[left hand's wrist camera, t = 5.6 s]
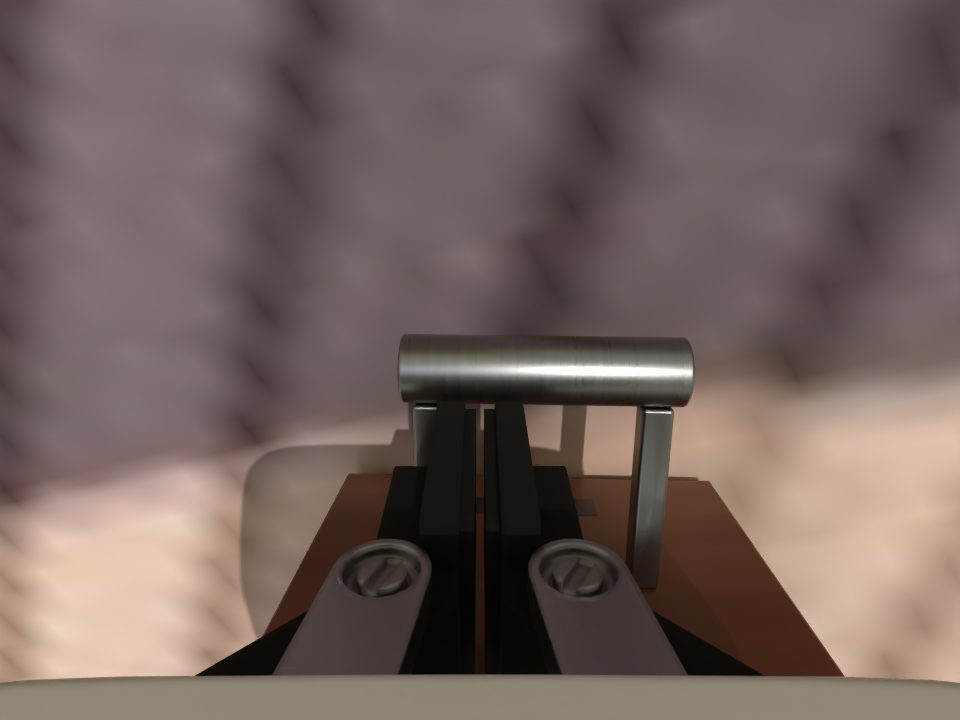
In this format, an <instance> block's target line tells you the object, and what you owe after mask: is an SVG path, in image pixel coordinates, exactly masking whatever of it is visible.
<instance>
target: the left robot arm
mask: <svg viewBox="0 0 960 720" xmlns="http://www.w3.org/2000/svg"><path fill="white" fill-rule="evenodd" d="M484 600H485V675H475V615H476V409H465V402H437V408H436V415H435V421H434V428H433V434H432V441H431V447H430V454H429V460H428V466H396V467H395V468H394V471H393V475H392V479H391V483H390V487H389V491H388V495H387V499H386V503H385V507H384V511H383V515H382V519H381V523H380V527H379V531H378V535H377V539H376V540H373V541H368V542H365V543H362V544H360V545H357V546H355V547H352V548H351V549H350V550H348V551H347V552H345V553H344V554H342V555H341V556H340V558H339V559H338V560H337V561H336V563H335V564H334V565H333V567H332V569H331V571H330V572H329V574H328V576H327V578H326V580H325V581H324V583H323V585H322V587H321V589H320V590H319V592H318V594H317V596H316V598H315V599H314V601H313V603H312V605H311V606H310V608H309V610H308V611H306V612H304V613H303V614H301V615H299V616H297V617H296V618H294V619H292V620H290V621H289V622H287V623H285V624H284V625H282V626H280V627H278V628H277V629H275V630H273V631H271V632H270V633H268V634H266V635H264V636H263V637H261V638H259V639H258V640H256V641H254V642H252V643H251V644H249V645H247V646H245V647H244V648H242V649H240V650H239V651H237V652H235V653H233V654H232V655H230V656H228V657H226V658H225V659H223V660H221V661H220V662H218V663H216V664H214V665H213V666H211V667H209V668H207V669H206V670H204V671H202V672H201V673H199V674H197V675H195V676H137V677H97V678H70V679H43V680H24V681H14V682H5V683H0V720H960V683H955V682H946V681H936V680H917V679H890V678H863V677H828V676H765V675H763V674H761V673H759V672H758V671H756V670H754V669H753V668H751V667H749V666H747V665H746V664H744V663H742V662H740V661H739V660H737V659H735V658H734V657H732V656H730V655H728V654H727V653H725V652H723V651H721V650H720V649H718V648H716V647H715V646H713V645H711V644H709V643H708V642H706V641H704V640H702V639H701V638H699V637H697V636H696V635H694V634H692V633H690V632H689V631H687V630H685V629H683V628H682V627H680V626H678V625H677V624H675V623H673V622H671V621H670V620H668V619H666V618H665V617H663V616H661V615H659V614H658V613H656V612H654V611H652V610H651V608H650V606H649V605H648V603H647V601H646V599H645V598H644V596H643V594H642V592H641V590H640V589H639V587H638V585H637V583H636V581H635V580H634V578H633V576H632V574H631V572H630V571H629V569H628V567H627V565H626V564H625V563H624V561H623V560H622V559H621V558H620V556H619V555H618V554H616V553H615V552H613V551H612V550H610V549H609V548H608V547H605V546H603V545H600V544H598V543H595V542H592V541H587V540H584V539H583V535H582V531H581V527H580V523H579V519H578V515H577V511H576V507H575V503H574V499H573V495H572V491H571V487H570V483H569V479H568V474H567V471H566V468H565V467H564V466H532V459H531V453H530V446H529V440H528V433H527V427H526V420H525V413H524V407H523V402H495V409H484Z"/></svg>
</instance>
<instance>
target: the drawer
mask: <svg viewBox="0 0 960 720" xmlns="http://www.w3.org/2000/svg"><path fill="white" fill-rule="evenodd" d="M694 378H695V365H694V356H693V352H692V348H691V345H690V343H689V341H688V340H687V339H685V338H661V337H585V336H509V335H434V334H405V335H403V336H402V339H401V342H400V346H399V354H398V388H399V395H400V398H401V400H402V402H406V403H414V405H413V408H412V414H413V453H414V466H428V460H429V454H430V447H431V441H432V434H433V428H434V421H435V415H436V408H437V402H465V403H466V404H495V402H523V404H526V405H585V406H637V415H636V428H635V441H634V454H633V467H632V480H631V479H582V478H568V479H569V483H570V487H571V491H572V495H573V499H574V503H575V507H576V511H577V515H578V519H579V523H580V527H581V531H582V535H583V539H584V540H587V541H592V542H595V543H598V544H600V545H603V546H605V547H608V548H609V549H610V550H612V551H613V552H615V553H616V554H618V555H619V556H620V558H621V559H622V560H623V561H624V563H625V564H626V565H627V567H628V569H629V571H630V572H631V574H632V576H633V578H634V580H635V581H636V583H637V585H638V587H639V589H640V590H641V592H642V594H643V596H644V598H645V599H646V601H647V603H648V605H649V606H650V608H651V610H652V611H654V612H656V613H658V614H659V615H661V616H663V617H665V618H666V619H668V620H670V621H671V622H673V623H675V624H677V625H678V626H680V627H682V628H683V629H685V630H687V631H689V632H690V633H692V634H694V635H696V636H697V637H699V638H701V639H702V640H704V641H706V642H708V643H709V644H711V645H713V646H715V647H716V648H718V649H720V650H721V651H723V652H725V653H727V654H728V655H730V656H732V657H734V658H735V659H737V660H739V661H740V662H742V663H744V664H746V665H747V666H749V667H751V668H753V669H754V670H756V671H758V672H759V673H761V674H763V675H765V676H828V677H845V676H844V675H843V673H842V672H841V670H840V669H839V668H838V666H837V665H836V663H835V662H834V660H833V659H832V658H831V656H830V655H829V653H828V652H827V650H826V649H825V647H824V646H823V645H822V643H821V642H820V640H819V639H818V637H817V636H816V634H815V633H814V632H813V630H812V629H811V627H810V626H809V624H808V623H807V621H806V620H805V619H804V617H803V616H802V614H801V613H800V611H799V610H798V609H797V607H796V606H795V604H794V603H793V601H792V600H791V598H790V597H789V596H788V594H787V593H786V591H785V590H784V588H783V587H782V585H781V584H780V583H779V581H778V580H777V578H776V577H775V575H774V574H773V573H772V571H771V570H770V568H769V567H768V565H767V564H766V562H765V561H764V560H763V558H762V557H761V555H760V554H759V552H758V551H757V549H756V548H755V547H754V545H753V544H752V542H751V541H750V539H749V538H748V536H747V535H746V534H745V532H744V531H743V529H742V528H741V526H740V525H739V524H738V522H737V521H736V519H735V518H734V516H733V515H732V513H731V512H730V511H729V509H728V508H727V506H726V505H725V503H724V502H723V500H722V499H721V498H720V496H719V495H718V493H717V492H716V490H715V489H714V488H713V486H712V485H711V483H710V482H709V481H680V480H668V471H669V460H670V449H671V439H672V428H673V418H674V411H673V409H672V408H671V407H684V406H686V405H687V404H688V403H689V401H690V399H691V396H692V392H693V387H694ZM391 479H392V475H387V474H348V476H347V478H346V480H345V482H344V484H343V485H342V487H341V489H340V491H339V493H338V495H337V497H336V499H335V501H334V502H333V504H332V506H331V508H330V510H329V512H328V514H327V516H326V518H325V519H324V521H323V523H322V525H321V527H320V529H319V531H318V533H317V534H316V536H315V538H314V540H313V542H312V544H311V546H310V548H309V550H308V551H307V553H306V555H305V557H304V559H303V561H302V563H301V565H300V566H299V568H298V570H297V572H296V574H295V576H294V578H293V580H292V582H291V583H290V585H289V587H288V589H287V591H286V593H285V595H284V597H283V598H282V600H281V602H280V604H279V606H278V608H277V610H276V612H275V614H274V615H273V617H272V619H271V621H270V623H269V625H268V627H267V629H266V630H265V632H264V634H263V636H264V635H266V634H268V633H270V632H271V631H273V630H275V629H277V628H278V627H280V626H282V625H284V624H285V623H287V622H289V621H290V620H292V619H294V618H296V617H297V616H299V615H301V614H303V613H304V612H306V611H308V610H309V608H310V606H311V605H312V603H313V601H314V599H315V598H316V596H317V594H318V592H319V590H320V589H321V587H322V585H323V583H324V581H325V580H326V578H327V576H328V574H329V572H330V571H331V569H332V567H333V565H334V564H335V563H336V561H337V560H338V559H339V558H340V556H341V555H342V554H344V553H345V552H347V551H348V550H350V549H351V548H352V547H355V546H357V545H360V544H362V543H365V542H368V541H373V540H376V539H377V535H378V531H379V527H380V523H381V519H382V515H383V511H384V507H385V503H386V499H387V495H388V491H389V487H390V483H391ZM263 636H262V637H263ZM475 675H485V600H484V476H476V615H475Z"/></svg>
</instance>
